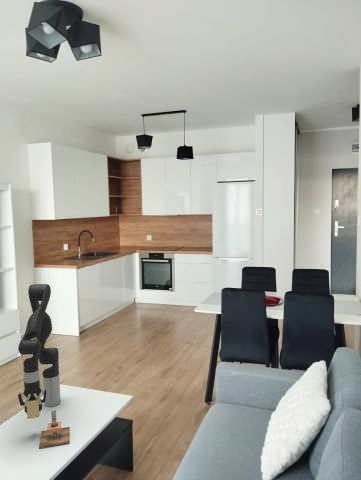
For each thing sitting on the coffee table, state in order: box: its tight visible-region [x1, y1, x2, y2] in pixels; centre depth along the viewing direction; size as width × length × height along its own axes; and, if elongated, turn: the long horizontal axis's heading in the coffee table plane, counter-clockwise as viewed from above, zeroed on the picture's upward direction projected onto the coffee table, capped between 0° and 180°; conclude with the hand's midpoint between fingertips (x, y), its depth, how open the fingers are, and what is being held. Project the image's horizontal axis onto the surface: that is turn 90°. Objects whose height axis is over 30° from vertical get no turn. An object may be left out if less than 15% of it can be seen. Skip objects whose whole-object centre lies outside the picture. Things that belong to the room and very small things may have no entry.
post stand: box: [38, 410, 71, 450], centre depth 203 cm, size 14×14×14 cm
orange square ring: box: [46, 420, 62, 433], centre depth 203 cm, size 6×6×2 cm
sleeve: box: [25, 395, 41, 420], centre depth 206 cm, size 6×6×9 cm
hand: (33, 411), depth 207 cm, fingers closed on sleeve, 5 cm apart
